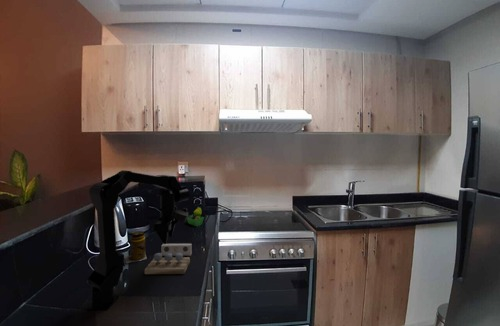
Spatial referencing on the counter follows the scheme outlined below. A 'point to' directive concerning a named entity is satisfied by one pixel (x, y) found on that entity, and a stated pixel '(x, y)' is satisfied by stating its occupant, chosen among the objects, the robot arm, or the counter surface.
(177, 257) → the button right
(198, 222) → the fruit basket
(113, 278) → the robot arm
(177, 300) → the counter surface
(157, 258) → the button left
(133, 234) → the condiment
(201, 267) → the counter surface
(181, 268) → the board
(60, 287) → the counter surface
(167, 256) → the button mid
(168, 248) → the white flat bar
